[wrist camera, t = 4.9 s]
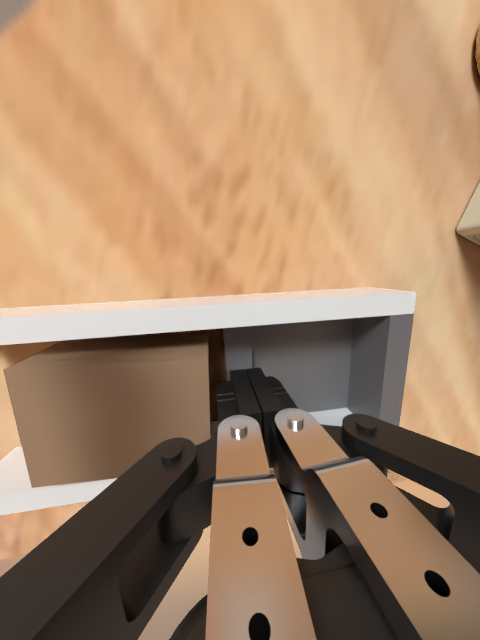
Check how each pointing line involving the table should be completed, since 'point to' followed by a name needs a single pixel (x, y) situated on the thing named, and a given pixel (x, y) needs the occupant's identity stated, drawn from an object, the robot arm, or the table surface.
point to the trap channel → (243, 355)
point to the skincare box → (471, 219)
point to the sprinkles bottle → (478, 50)
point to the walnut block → (108, 403)
